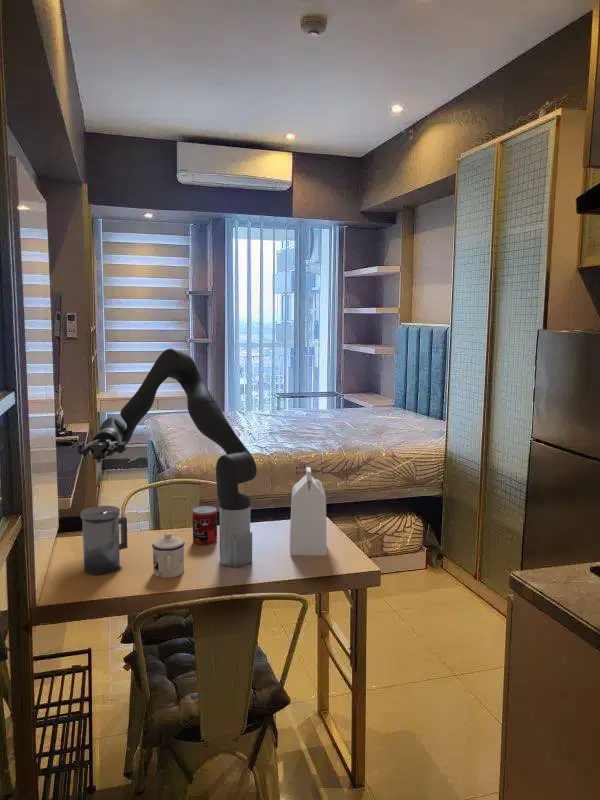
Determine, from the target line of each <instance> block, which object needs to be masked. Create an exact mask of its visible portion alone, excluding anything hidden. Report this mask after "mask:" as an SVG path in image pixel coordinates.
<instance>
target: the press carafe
mask: <svg viewBox="0 0 600 800" xmlns="http://www.w3.org/2000/svg"><path fill="white" fill-rule="evenodd" d="M120 515H121V509H120V508H119V507H118V506H113V505H96V506H91V507H88V508H87V507H86V508H85V509H82V510H81V511H80V518H81V521H82V522H81V523H82V546H83V547H82V548H83V549H82V551H83V572H84V573H85V574H87V575H91V576H103V575H104V576H105V575H110V574H112V573H115V572H117V571H119V569H120V567H121V563H120V561H121V559H120V552H121V551H120V550H125V549H128V520H127V517H125V516H123V517H120Z"/></svg>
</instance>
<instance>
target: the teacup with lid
mask: <svg viewBox="0 0 600 800" xmlns="http://www.w3.org/2000/svg"><path fill="white" fill-rule="evenodd" d="M184 547H185V541H184V539H182V538H181V537H178V536H175V535H173V534H172V533H171V532H166V533H165V534H164V535H163V536H162V537H160V538H157V539H155V540H153V542H152V544H151V548H152V557H153V559H152V561H153V562H152V563H153V566H152V567H153V575H154V576H156V577H157V578H162V579H172V578H177V577H178V576H181V575H183V573H184V571H185V555H184V554H185V552H184V551H185V548H184Z"/></svg>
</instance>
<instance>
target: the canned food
mask: <svg viewBox="0 0 600 800" xmlns="http://www.w3.org/2000/svg"><path fill="white" fill-rule="evenodd" d="M217 540H218V509H217V507H215V506H211V505H203V506H202V505H201V506H197V507H194V508H193V509H192V542H193V544H195V545H197V546H211V545H214V544H216V543H217Z"/></svg>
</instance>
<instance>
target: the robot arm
mask: <svg viewBox="0 0 600 800" xmlns="http://www.w3.org/2000/svg"><path fill="white" fill-rule="evenodd" d="M168 378H170V379H173V380H175V381H177V382H178V383H179V385H180V386H181V388H182V389H183V391H184V393H185V395H186V398H187V403H186V405H187V412H188V414H189V416H190V419H191V420H192V422H193V424H194V425H195V427H196V428H197V429H198V431H199V432H200V433H201V434H202V435H204V437H206V438H208V439H209V440H210V441H212V442H214V443H215V444H216V445H218V446H219V447H220V448H221V449H222V450H223V451H224V452H225V454H224V455H223V454H222V455H221V456H220V457H219V458H218V459H217V461H216V466H215V476H216V477H215V478H216V495H217V498H218V501H219V503H218V505H219V563H220V564H221V565H223V566H227V567H234V568H239V567H243V566H246V565H249V564H251V563H253V532H252V531H251V498H250V495H248V494H246V493H243V492H239V484H243V483H244V484H245V483H248V482H250V481H253V480H254V479H255V477H256V475H257V471H258V469H257V464H256V461H255V459H254V457H253V455H252V453H251V452H249V450H248V449H247V447H246V445H245V444H244V443H243V442H242V440H241V439H240V438H239V437H238V435H237V434H236V432H235V431H234V430H233V429H234V428H232V426H231V425H230V423H229V421H228V419H227V418H226V416H225V414H224V413H223V411H222V410H221V408H220V406H219V404H218V403H217V401H216V400H215V398H214V396H213V395H212V393H211V392H210V390H209V388H208V387H207V385H206V384H205V382H204V381H203V378H202V375H201V374H200V372H199V369H198V367H197V364H196V362H195V361H194V359H193V358H192V356H191V355H189V354H187V353H186V352H183V351H180V350H179V349H175V348H167V349H165V350H163V351H162V352H161V354H159V356H158V357H157V359H156V360H155V362H154V363H153V366H152V367H151V369H150V370H149V372H148V373H147V375H146V377H145V378H144V380H143V382H142V383H141V385H140V386H139V388H138V389H137V391H136V392H135V394H133V396H132V397H131V398H130V399H129V400H128V402H126V404H125V405H124V406H123V407H122V408H121V410H120V412H119V414H120V417H121V419H123V421H124V422H125V424H126V425H125V424H124V423H122V422H121V421H120V420H119V419H117V418H115V417H114V416H113V417H108V418H106V419H105V420H104V421H103V422H102V424H101V425H100V427H99V432H98V433H97V434H95V436H93V439H92V441H89V442H88V443H86V442H84V441H79V442H78V445H77V451H78V452H77V454H78V455H82V456H83V457H88V456H89V455H91V444H92V443H106V457H111V456H112V455H115V454H116V453H117V454H123V453H124V452H125V451H126V450H128V447H127V445H128V444H129V443H130V441H131V439H132V436H133V434H134V431H135V429H136V428H137V425H138V424H139V423H140V422H141V421H142V420H143V418H144V417H145V416H146V415H147V414H148V412H149V411H150V410H151V409H152V407H153V405H154V402H155V398H156V394H157V391H158V389H159V387H160V386H161V385H162V384H163V382H164V381H166V380H167V379H168Z"/></svg>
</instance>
